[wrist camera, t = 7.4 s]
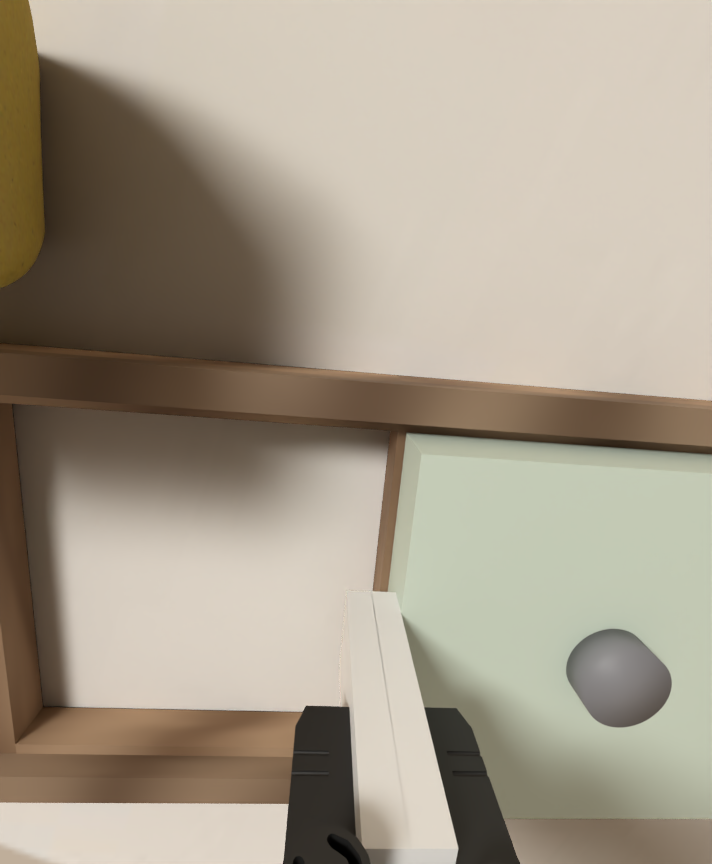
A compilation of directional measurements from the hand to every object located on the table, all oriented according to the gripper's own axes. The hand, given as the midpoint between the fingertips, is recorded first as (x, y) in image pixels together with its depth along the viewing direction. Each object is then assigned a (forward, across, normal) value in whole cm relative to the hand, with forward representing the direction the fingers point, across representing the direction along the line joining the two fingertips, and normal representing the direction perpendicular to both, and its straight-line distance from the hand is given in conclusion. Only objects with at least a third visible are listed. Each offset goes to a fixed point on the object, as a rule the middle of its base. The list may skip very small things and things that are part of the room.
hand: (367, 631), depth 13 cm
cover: (+1, -7, 0) cm, 7 cm away
